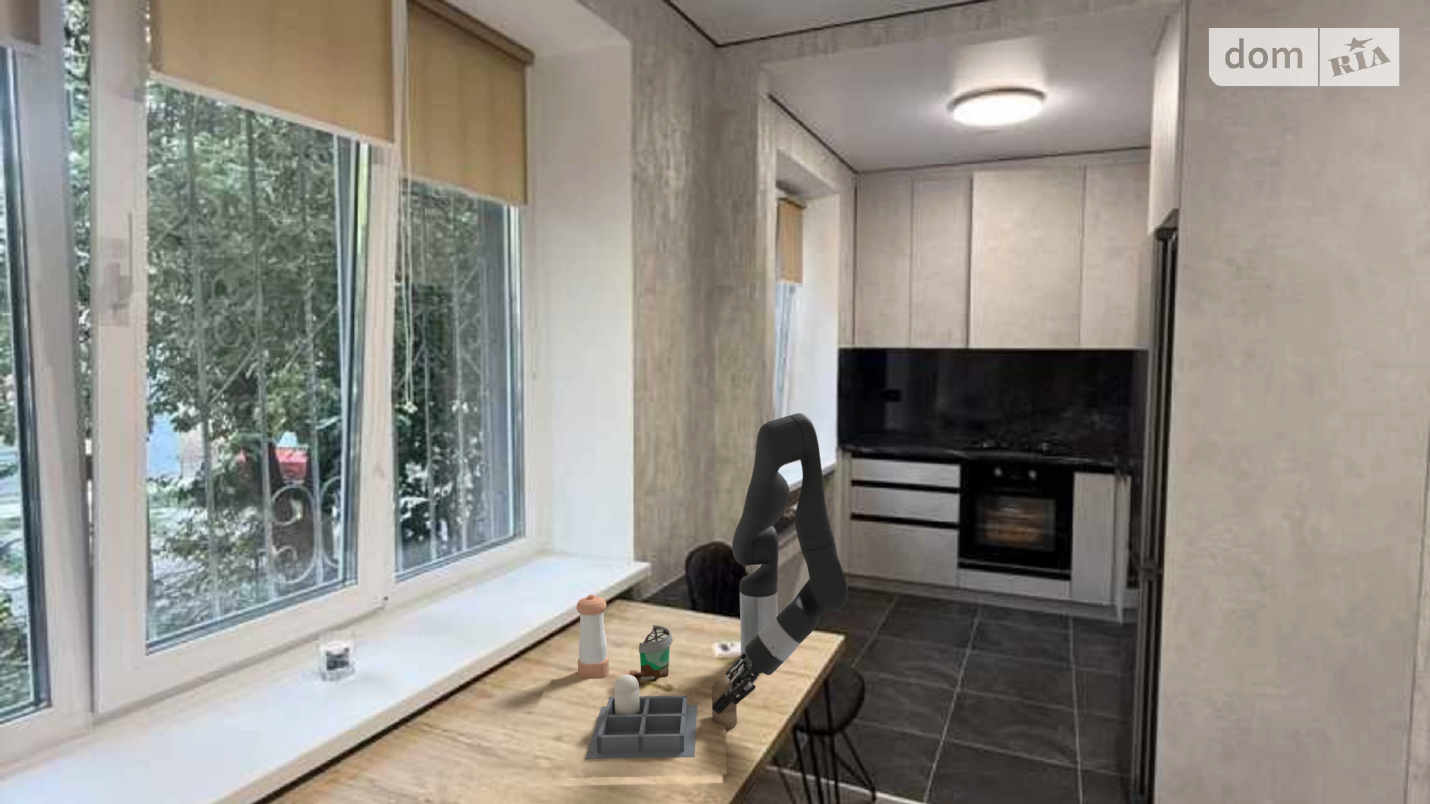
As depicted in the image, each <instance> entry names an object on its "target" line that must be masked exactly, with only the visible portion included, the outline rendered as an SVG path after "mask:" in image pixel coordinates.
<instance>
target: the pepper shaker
mask: <svg viewBox="0 0 1430 804" xmlns="http://www.w3.org/2000/svg"><path fill="white" fill-rule="evenodd" d="M575 608H576V610H577V612H578V613H579V616H580V617H579V618H580V621H579V624H580V625H579V626H580V630H579V631H580V633H579V641H578V661H577V676H578V677H579V678H580V679H583V680H589V679H590V680H594V679H595V680H596V679H597V680H599V679H603V678H605V677H606V676H608V675H609V673H610V665H609V664H610V662H609V661H610V660H609V658H610V657H609V656H608V643H607V638H606V632H605V626H604V624H605V622H604V612H605V611H606V608H607V602H606V601H605V599H604V598H603V597H601V596H596V595H595V594H588V596H585V597H582V598H581V599H579V600H578V602H577V604H576V607H575Z"/></svg>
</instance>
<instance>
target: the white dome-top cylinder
mask: <svg viewBox="0 0 1430 804" xmlns="http://www.w3.org/2000/svg"><path fill="white" fill-rule="evenodd" d="M613 691H614V697H615V715H637V714H640V703H639V696H640V685H639V680H638V679H637V678H636V677H635V676H634V675H633V674H632V675H631V674H629V673H627V674H623V675H622V674H621V676H619V677H618V678H617V679H616V680H615V682H614V690H613Z"/></svg>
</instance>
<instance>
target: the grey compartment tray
mask: <svg viewBox="0 0 1430 804" xmlns="http://www.w3.org/2000/svg"><path fill="white" fill-rule="evenodd" d="M639 703H640V714H637V715H615V696H609V697H608V700H607V703H606V706H605V705H604V706H603V705H602V706H601V708H600V710H599V713H598V717H597V720H596V724H595V726H594V729H593V732H592V737H591V740H590V743H589V745H588V749H587V752H586V755H585V758H584V759H585V760H593V759H594V760H595V759H596V760H598V759H599V760H603V759H607V760H608V759H653V758H657V759H658V758H660V759H661V758H695V754H696V752H695V751H696V739H697V738H696V732H697V716H698V713H697V712H698V704H688V695H650V696H649V695H646V696H644V695H641V696H640V695H639Z"/></svg>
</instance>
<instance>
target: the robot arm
mask: <svg viewBox="0 0 1430 804" xmlns="http://www.w3.org/2000/svg"><path fill="white" fill-rule="evenodd" d="M756 438H757V439H756V445H755V447H756V448H755V455H754V463H753V468H752V469H753V470H752V475H751V478H750V482H749V484H748V488H747V492H746V496H745V501H744V506H743V508H742V509H743V511H742V514H741V516H740V520H739V521H738V524H737V526H736V528H735V531H734V534H733V537H732V543H731V544H732V545H731V546H732V549H731V550H732V556H733V558H734V560H735V561H736V563H737V564H740V565H742V566H756V565H760V566H759V567H758V569H756V570H755V571H753V572H751V573H749V574H747V575H745V576H743V577H742V578H741V579H740V581H739V614H740V617H739V618H740V619H739V620H740V656H739V657H738V658H737V659H736V660H735V661H734V663H733V664H732V665H731V666H730V667H729V669H728V670H727V671H726V672H725V677H727V678H729V679H731V681H730V686H729V688H728V689H727V690H726V691H725V693H724V694H723V695H722V696H721V697H720V698H719V699H718V700H717V701H716V702H715V703H714V704H713V705H712V704H711V710H712V709H713V710H714V711H715V712H716V713H717V714H720V713H721V712H722V711H723V710H724V709H725V708H726V707H727V706H728V705H729V704H730V703H731V702H732V703H734V704H735V705H736V704H737V705H738V704H740V702H741V701H742V700H744V699H745V698H746V697H748V695H750V694H751V693H752V692H753V691H755V689H756V687H757V686H756V685H755V683H756V682H757V680H758V677H759V676H760V674H764V675H766V676H771V675H773V673H775V672H776V670H778V668H779V667H780V666H781V665H783V664H784V663H785V662H786V661H787V660H788V658H789V657H790V656H791V655H792V654H794V653H795V651H796V650H797V648H798V647H799V646H800V645H801V643H803V642H804V641H805V640H806V639H807V638H808V637H809V636H810V635H811V634H812V632H813V631H814V630H815V629H816V628H817V626H818V623H819V620H820V619H821V618H820V617H822V615H823V614H824V613H825V612H826V611H831V612H834V611H838V610H840V609H842V608H843V607H844V606H845V605H846V603H847V602H848V599H849V593H850V592H849V587H848V583H847V579H846V577H845V573H844V571H843V568H842V567H843V566H842V565H841V562H840V560H839V556H838V551H837V547H836V546H837V544H836V540H835V537H834V534H833V529H832V525H831V522H830V519H829V513H828V510H827V509H828V508H827V505H826V496H825V489H824V488H825V487H824V478H823V469H822V462H821V461H822V460H821V453H820V447H819V446H820V444H819V440H818V435H817V431H816V428H815V427H814V424H813V422H812V420H811V419H810V418H809V416H807V415H806V414H804V413H803V412H802V413H801V412H799V413H794V414H789V415H787V416H783V417H779V418H776V419H772V420H770V421H767V422H765V423H764V424H763V425H761V427H760V428H759V430H758V433H757V437H756ZM797 461H800V464H801V471H802V481H801V488H800V492H799V496H798V500H797V505H796V508H795V517H794V518H795V519H794V523H795V524H794V525H795V531H796V535H797V539H798V543H799V547H800V551H801V554H802V556H803V558H804V561H805V563H806V567H807V571H808V575H809V578H808V580H807V582H806V583H805V584H804V585H803V586H802V588H801V589H800V590H799V591H798V593H797V595H796V596H795V598H794V599H793V600H792V601H791V602H790V603H789V604H788V605H786V606H785V608H783V610H781V612H779V610H778V607H779V606H778V605H779V604H778V581H779V580H778V579H779V573H778V572H779V571H778V570H779V569H778V568H779V547H780V546H779V535H778V532H777V529H776V528H775V527H774V524H776V523H778V521H779V520H780V519H781V518H782V517H783V515H784V514H785V511H786V509H787V505H788V502H789V499H790V494H791V493H790V487H789V484H788V481H787V480H786V479H785V478H784V476H783V475H782V474H781V473H780V472H779V470H780V469H781V468H782V467H784V466H785V465H788V464H791V463H795V462H797ZM734 693H736V694H735V695H733V694H734Z"/></svg>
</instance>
